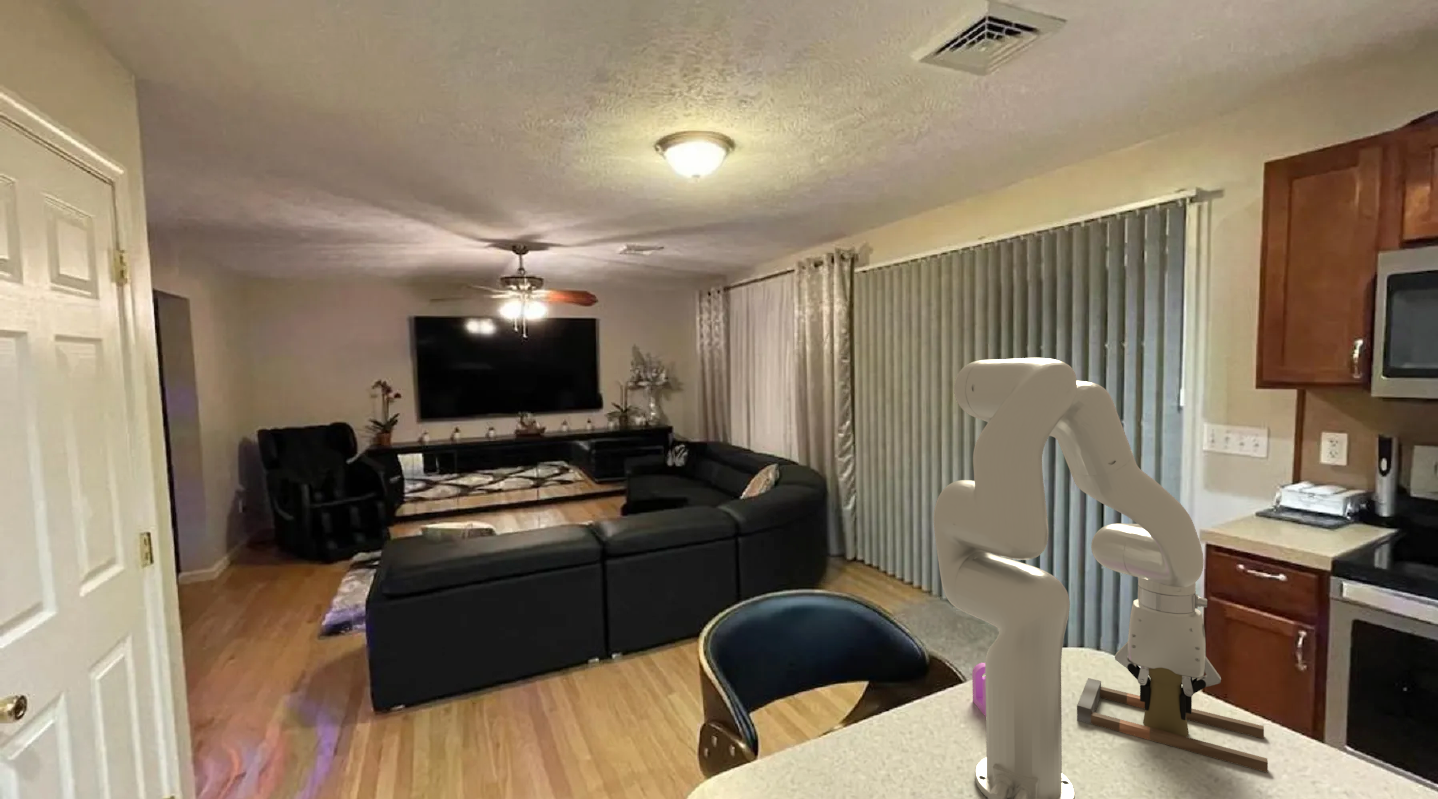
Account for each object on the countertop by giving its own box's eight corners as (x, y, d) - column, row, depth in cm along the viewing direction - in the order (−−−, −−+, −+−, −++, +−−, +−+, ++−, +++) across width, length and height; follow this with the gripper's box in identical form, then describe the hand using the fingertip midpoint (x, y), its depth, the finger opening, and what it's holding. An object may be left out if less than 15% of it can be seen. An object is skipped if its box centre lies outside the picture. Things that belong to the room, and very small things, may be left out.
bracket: (986, 718, 108) (986, 678, 107) (972, 701, 113) (972, 663, 113) (1063, 715, 108) (1062, 675, 108) (1045, 698, 113) (1045, 660, 113)
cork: (1196, 740, 100) (1197, 670, 99) (1152, 736, 101) (1153, 667, 100) (1177, 719, 105) (1178, 653, 105) (1136, 715, 107) (1136, 651, 106)
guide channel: (1267, 772, 91) (1267, 755, 91) (1077, 720, 106) (1077, 705, 106) (1263, 735, 100) (1263, 719, 100) (1088, 691, 115) (1088, 677, 115)
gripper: (1233, 603, 100) (1232, 718, 101) (1108, 583, 110) (1108, 687, 111) (1233, 618, 94) (1232, 740, 95) (1101, 595, 104) (1101, 705, 105)
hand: (1165, 710), depth 103 cm, fingers closed on cork, 4 cm apart
